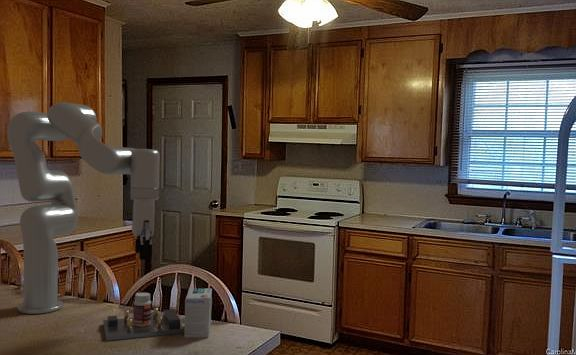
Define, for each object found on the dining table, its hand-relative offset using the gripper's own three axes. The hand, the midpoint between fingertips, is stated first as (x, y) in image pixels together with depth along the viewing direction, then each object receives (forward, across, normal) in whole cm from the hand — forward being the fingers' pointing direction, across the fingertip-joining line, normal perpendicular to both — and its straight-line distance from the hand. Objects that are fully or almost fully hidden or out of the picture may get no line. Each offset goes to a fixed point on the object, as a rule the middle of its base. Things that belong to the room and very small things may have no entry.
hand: (143, 255), depth 146 cm
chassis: (+20, 0, 0) cm, 20 cm away
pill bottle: (+19, 0, 0) cm, 19 cm away
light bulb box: (+20, +7, +14) cm, 26 cm away
